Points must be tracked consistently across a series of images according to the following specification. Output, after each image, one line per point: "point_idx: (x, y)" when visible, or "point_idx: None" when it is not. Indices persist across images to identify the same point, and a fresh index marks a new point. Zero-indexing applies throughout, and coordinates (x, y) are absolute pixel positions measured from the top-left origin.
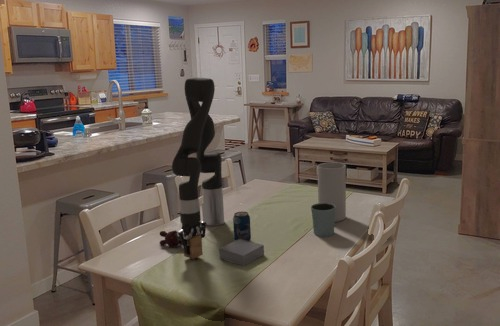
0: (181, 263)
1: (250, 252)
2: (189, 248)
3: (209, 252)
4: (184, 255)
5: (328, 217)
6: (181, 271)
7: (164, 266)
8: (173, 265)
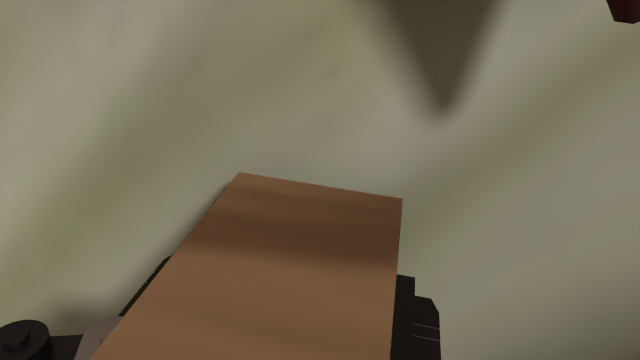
0: (163, 194)
1: None
2: None
3: (541, 293)
4: (235, 184)
5: None
6: (67, 285)
7: (7, 84)
8: (83, 152)
